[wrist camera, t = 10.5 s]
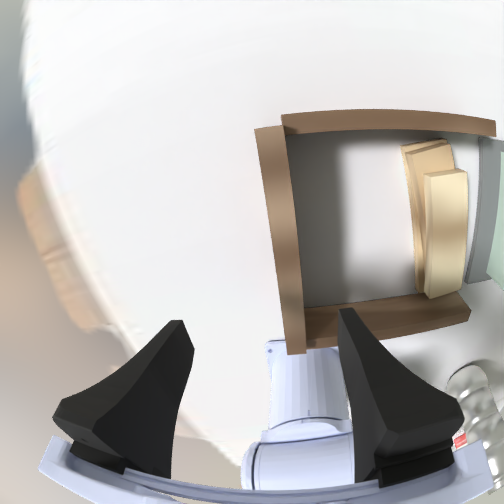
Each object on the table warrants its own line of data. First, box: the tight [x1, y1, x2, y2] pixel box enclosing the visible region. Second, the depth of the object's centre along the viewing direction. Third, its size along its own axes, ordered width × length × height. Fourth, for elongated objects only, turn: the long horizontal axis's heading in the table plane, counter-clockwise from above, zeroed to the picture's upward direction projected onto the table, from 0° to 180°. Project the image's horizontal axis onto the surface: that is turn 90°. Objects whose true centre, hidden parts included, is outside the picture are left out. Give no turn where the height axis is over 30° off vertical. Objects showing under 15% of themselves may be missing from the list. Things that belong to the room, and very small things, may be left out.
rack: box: [254, 109, 496, 355], centre depth 18 cm, size 17×17×5 cm
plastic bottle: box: [446, 365, 504, 495], centre depth 19 cm, size 6×7×20 cm
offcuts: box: [400, 138, 468, 299], centre depth 18 cm, size 13×4×4 cm, turn 19°
